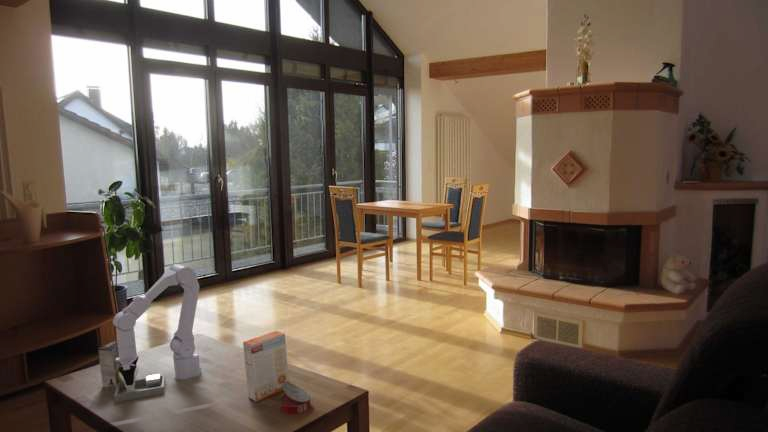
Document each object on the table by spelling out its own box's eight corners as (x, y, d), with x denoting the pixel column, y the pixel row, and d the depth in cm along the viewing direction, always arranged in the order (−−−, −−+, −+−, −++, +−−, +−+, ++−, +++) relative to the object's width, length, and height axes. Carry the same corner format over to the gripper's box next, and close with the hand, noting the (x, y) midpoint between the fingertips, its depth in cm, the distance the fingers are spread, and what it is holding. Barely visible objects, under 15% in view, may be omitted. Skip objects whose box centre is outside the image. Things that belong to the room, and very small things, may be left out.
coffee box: (119, 378, 204) (114, 339, 202) (133, 379, 203) (129, 339, 201) (102, 389, 195) (97, 348, 193) (117, 390, 194) (112, 349, 192)
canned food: (294, 412, 182) (300, 383, 185) (313, 418, 176) (320, 387, 179) (269, 410, 174) (276, 379, 177) (288, 415, 168) (296, 383, 171)
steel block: (161, 384, 195) (160, 373, 194) (160, 390, 191) (159, 378, 190) (148, 387, 193) (146, 375, 193) (147, 392, 189) (146, 380, 188)
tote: (165, 383, 198) (164, 374, 198) (164, 395, 188) (163, 386, 188) (119, 391, 193) (118, 382, 192) (115, 405, 183) (114, 395, 182)
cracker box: (280, 383, 194) (276, 329, 191) (289, 388, 190) (286, 333, 187) (246, 397, 185) (242, 340, 182) (255, 403, 180) (251, 345, 177)
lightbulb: (122, 398, 185) (119, 368, 184) (120, 392, 190) (117, 363, 189) (141, 393, 188) (138, 364, 187) (138, 387, 193) (135, 359, 192)
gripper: (116, 340, 192) (120, 375, 194) (111, 354, 179) (116, 392, 181) (137, 337, 195) (141, 371, 197) (134, 351, 181) (138, 388, 183)
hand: (130, 381), depth 189 cm, fingers closed on lightbulb, 6 cm apart
